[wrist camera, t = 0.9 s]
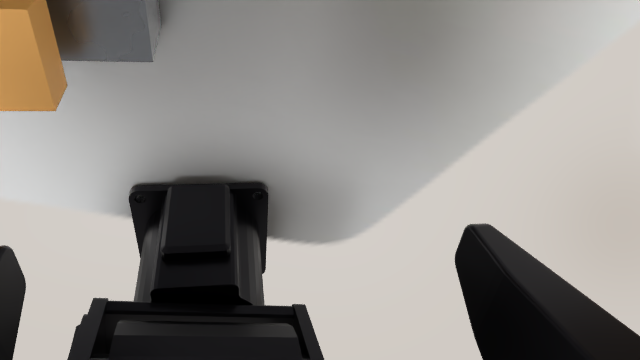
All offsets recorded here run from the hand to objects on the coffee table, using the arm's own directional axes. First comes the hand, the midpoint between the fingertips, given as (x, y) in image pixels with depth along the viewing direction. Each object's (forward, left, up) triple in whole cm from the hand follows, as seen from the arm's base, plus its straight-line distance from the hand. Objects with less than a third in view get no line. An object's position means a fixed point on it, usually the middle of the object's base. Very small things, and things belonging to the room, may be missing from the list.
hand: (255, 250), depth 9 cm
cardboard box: (0, +7, -9) cm, 11 cm away
